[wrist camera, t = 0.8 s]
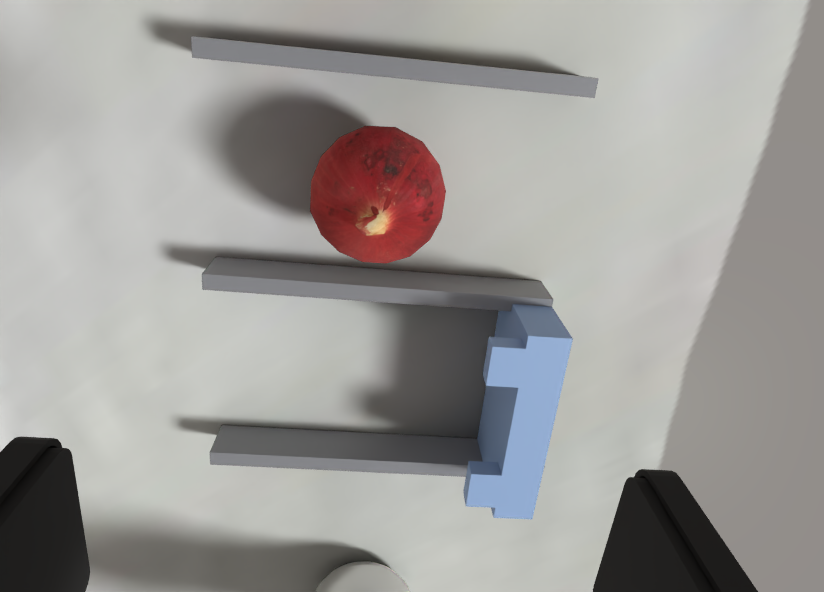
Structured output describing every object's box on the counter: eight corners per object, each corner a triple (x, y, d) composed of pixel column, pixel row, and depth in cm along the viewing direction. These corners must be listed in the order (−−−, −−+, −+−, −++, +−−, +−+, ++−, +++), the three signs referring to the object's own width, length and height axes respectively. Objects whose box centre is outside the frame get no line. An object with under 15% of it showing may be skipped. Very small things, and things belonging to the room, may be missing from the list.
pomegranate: (349, 95, 27) (336, 111, 20) (458, 150, 28) (484, 185, 21) (301, 205, 29) (273, 258, 22) (405, 253, 30) (412, 318, 23)
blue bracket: (475, 283, 31) (494, 333, 26) (539, 287, 31) (572, 338, 26) (451, 442, 35) (464, 516, 30) (508, 445, 35) (532, 519, 30)
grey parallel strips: (208, 37, 26) (191, 36, 24) (580, 76, 27) (598, 78, 25) (221, 436, 34) (210, 464, 32) (508, 451, 35) (516, 479, 33)
